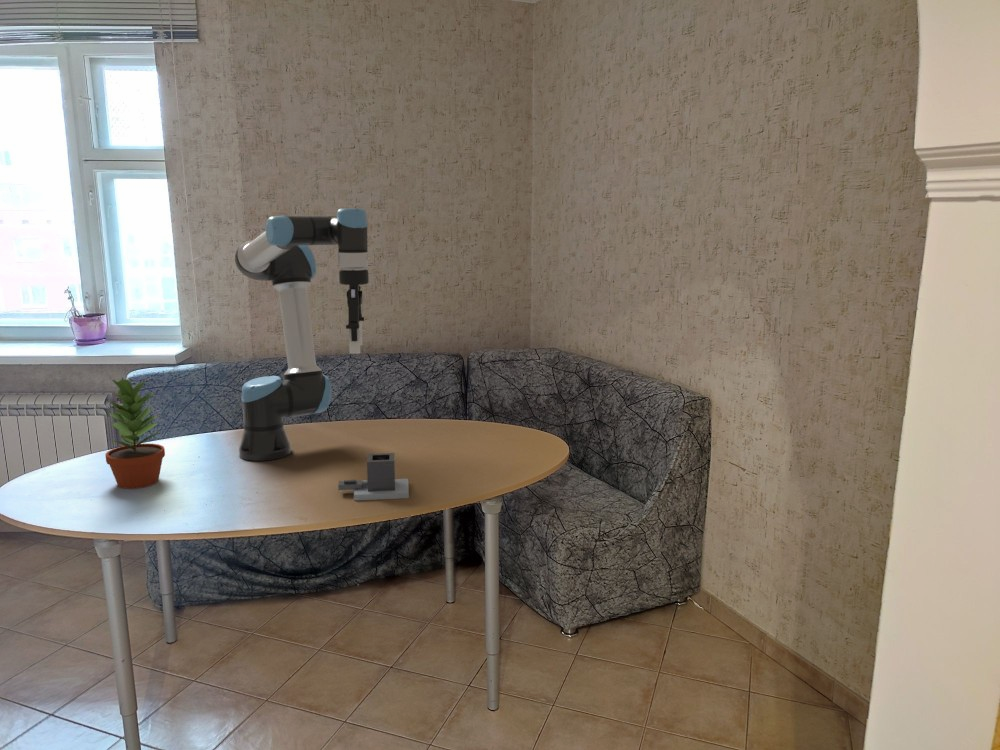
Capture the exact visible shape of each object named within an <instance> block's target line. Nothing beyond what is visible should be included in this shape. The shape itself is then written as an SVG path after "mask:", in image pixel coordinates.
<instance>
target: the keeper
mask: <svg viewBox="0 0 1000 750" xmlns="http://www.w3.org/2000/svg"><path fill="white" fill-rule="evenodd" d="M362 481H367V479H366V480H365V479H364V480H363V479H362ZM409 491H410V490H409V478H395V491H371V492H368V486H364V487H362V489H358V490H353V501H373V500H394V499H395V500H397V499H398V500H399V499H410V494H409V493H410V492H409Z"/></svg>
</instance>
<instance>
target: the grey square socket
mask: <svg viewBox="0 0 1000 750" xmlns="http://www.w3.org/2000/svg"><path fill="white" fill-rule="evenodd" d="M395 461H396V459H395V452H386V453H385V452H384V453H368V454H367V459H366V476H367V479H366V480H367V481H362V480H363V479H362V480H361V479H359V480H357V479H344V480H339V481H338V485H337V487H338V491H354V490H358V489H362V487H364V486H368V492H371V491H395V479H396V470H395V469H396V468H395V467H396V465H395V463H396V462H395Z"/></svg>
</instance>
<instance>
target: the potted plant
mask: <svg viewBox="0 0 1000 750" xmlns="http://www.w3.org/2000/svg"><path fill="white" fill-rule="evenodd" d="M109 379H111V381H112V382H113V383H114V384H115V385H116V386H117V388H119V389H118V390H117V393H115V397H117V398H118V399H120V402H121V404H122V405H120V404H119V403H116V402H113V401H107V400H106V402H107V403H109V404H110V405H111V406H113V407H115V408H112V407H111V409H112V411H114V412H116V413H110V412H108V411H107V414H108V415H109V416H110V417H111V418H112V419H114V420H116V421H117V422H115V421H112V423H113V424H112V426H113V427H114V428H115V429H116V430H118V434H119V435H118V436H119V437H121V438H122V439H123V440H124V441H121V440H115V439H110V438H109V440H110V441H113V442H115V443H117V444H119V445H122V446H119V447H115V448H112V449H110V450H108V451H106V453H105V461H106V464H107V465H109V467H110V469H111V472H112V474H113V477H114V479H115V482H116V485H117V486H118V487H119V488H121V489H127V488H128V490H129V489H131V490H132V489H141V488H145V487H146V488H147V487H150V486H152V484H153V485H155V484H157V483H158V482H157V481H159V479H160V473H161V468H162V464H163V463H162V462H163V459H164V457H165V456H166V452H165V447H164V446H163V445H161V444H158V443H157V444H156V443H145V442H146V441H148V440H150V439H151V438H153V437H155V436H156V435H159V432H155V433H152V434H151V435H149V436H147V437H146V438H143V440H140V437H142V436H143V435H144V434H146V433H147V432H149V431H151V430H152V429H153V428H154V427H156V426H157V425H158V422H156V423H151V422H153V421H155V419H157V418H158V417H159V416H160V414H158V415H156V416H149V414H150V412H152V410H151V408H152V407H149V406H150V405H151V404H152V402H153V401H154V399H152V401H151V402H149V403H148V404H146V405H147V406H145V408H144V409H143V410H142V408H143V405H144V404H145V402H147V401H148V400H149V399H150V398H151V397H152V396H153V395H155V394H156V393H157V391H155V392H154V393H149V394H147V395H144V396H143V397H142V395H139V394H138V393H139V392H140V391H141V389H142V388H143V386H144V385H145V383H146V381H147V380H148V378H146V379H145V380H144V381H143V382H140V383H139V384H136V385H135V387H134V388H133V384H132V383H131V381H130V380H128V379H124V377H122V376H121V379H120V380H118V381H116V380H115V379H112V377H109Z"/></svg>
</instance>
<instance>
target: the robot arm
mask: <svg viewBox="0 0 1000 750" xmlns="http://www.w3.org/2000/svg"><path fill="white" fill-rule="evenodd" d="M310 246H337V247H338V252H337V255H338V256H337V257H338V267H339V268H340V269H339V271H338V274H339V276H338V277H339V279H338V280H339V284H340V285H343V286H348V290H346V300H347V301H346V303H347V304H346V305H347V307H348V309H347V310H348V323H347V324H346V325H345V329H346V330H347V329H348V344H349V346H348V349H349V355H351V354H353V355H355V354H356V355H358V354H361V346H363V343H364V341H363V322H364V321H365V317H364V316H363V314H362V304H363V290H361V286H363V285H368V284H369V278H370V277H369V271H368V269H366V268H368V267H369V261H370V260H371V256H370V255H368V250H369V249H368V246H369V245H368V218H367V212H366V210H365V209H363V208H339V209H338V210H337V213H336V216H335V215H332V216H330V215H329V216H326V215H325V216H320V215H319V216H314V215H313V216H309V215H308V216H305V215H303V216H302V215H301V216H300V215H296V216H294V215H275V216H270V217H269V218H268V219H267V221H266V224H265V231H263V232H262V233H260V234H259V235H258V236H257V237H256V238H255V239H252V240H247V241H244V242H243V243H242V244H240V245H239V247H237V249H236V250H235V254H234V262H235V263H234V264H235V266H236V267H237V269H238V271H239V272H240V273H241V274H243V276H245V277H247V278H249V279H252V280H255V281H260V282H261V281H262V282H266V281H270V282H271V283H272V288H273V289H274V290H275V291H277V292H278V299H279V306H280V313H281V314H280V315H281V323H282V329H283V330H282V331H283V337H284V338H283V339H284V344H285V345H284V346H285V353H286V354H285V355H286V360H287V361H286V363H287V369H286V371H285V372H284V373H283V376H284V379H282V377H280V376H277V375H270V376H267V375H265V376H261V377H256V378H253V379H250V380H248V381H246V382H245V383H244V384H243V385H242V387H241V399H240V400H241V403H242V405H241V406H242V408H241V409H242V419H243V420H242V421H243V434H242V436H241V440H240V444H239V448H238V454H239V455H238V456H239V458H240V459H242V460H246V461H253V462H265V461H273V460H278V459H283V458H284V457H287V456H290V454H291V451H292V450H291V449H292V448H291V447H292V446H291V442H290V440H289V438H288V435H287V433H286V430H285V427H284V426H285V425H284V419H285V418H286V419H287V418H294V417H295V418H296V417H302V416H309V415H315V414H318V413H323V412H325V411H326V410H327V409H328V407H329V405H330V404H331V401H332V400H331V399H332V383H331V382H330V378H329V377H328V376H327V375H324V374H323V370H322V368H320V367H319V366H318V365H317V360H316V351H315V345H314V337H313V329H312V320H311V313H310V306H309V305H310V304H309V296H308V289H309V287H310V285H311V284H312V283H311V280H312V279H314V278H315V276H316V274H317V273H316V272H317V271H316V269H317V263H316V259H315V255H314V253H313V251H312V249H311V247H310ZM368 260H369V261H368Z"/></svg>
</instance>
